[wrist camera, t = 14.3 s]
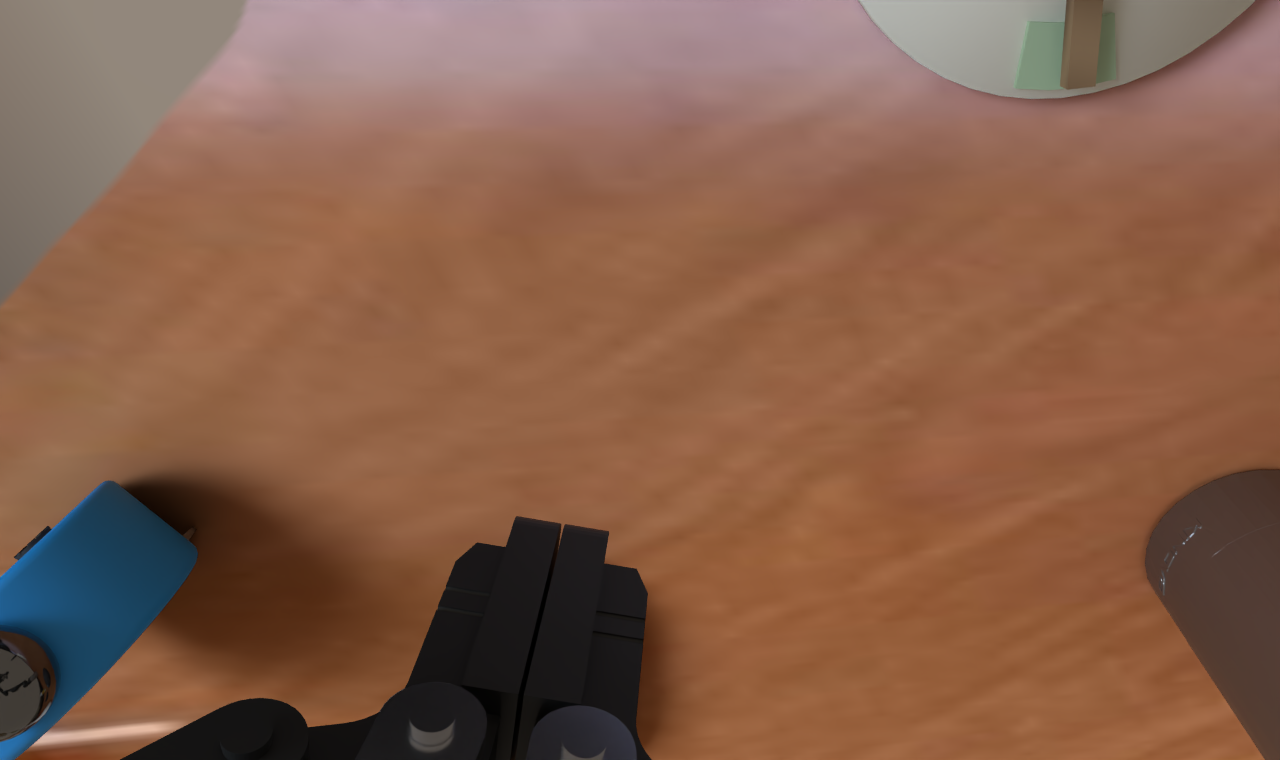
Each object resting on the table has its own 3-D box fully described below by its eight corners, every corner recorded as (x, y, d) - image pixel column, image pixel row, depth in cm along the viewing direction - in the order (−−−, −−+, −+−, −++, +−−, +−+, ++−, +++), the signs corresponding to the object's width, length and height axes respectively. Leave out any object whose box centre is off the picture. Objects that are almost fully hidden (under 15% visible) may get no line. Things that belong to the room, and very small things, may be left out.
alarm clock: (107, 623, 53) (-96, 861, 40) (16, 556, 51) (-229, 782, 38) (243, 510, 48) (66, 735, 35) (149, 432, 47) (-76, 638, 33)
